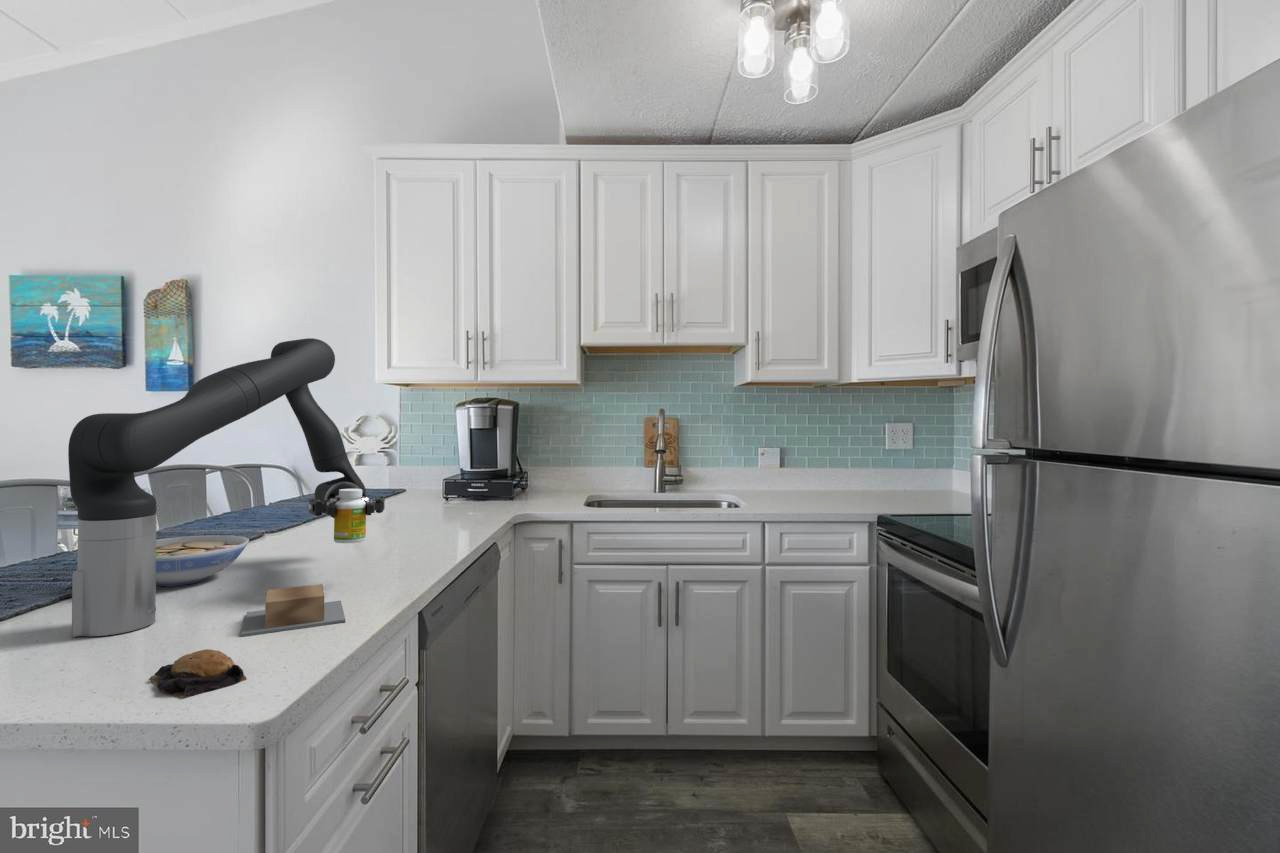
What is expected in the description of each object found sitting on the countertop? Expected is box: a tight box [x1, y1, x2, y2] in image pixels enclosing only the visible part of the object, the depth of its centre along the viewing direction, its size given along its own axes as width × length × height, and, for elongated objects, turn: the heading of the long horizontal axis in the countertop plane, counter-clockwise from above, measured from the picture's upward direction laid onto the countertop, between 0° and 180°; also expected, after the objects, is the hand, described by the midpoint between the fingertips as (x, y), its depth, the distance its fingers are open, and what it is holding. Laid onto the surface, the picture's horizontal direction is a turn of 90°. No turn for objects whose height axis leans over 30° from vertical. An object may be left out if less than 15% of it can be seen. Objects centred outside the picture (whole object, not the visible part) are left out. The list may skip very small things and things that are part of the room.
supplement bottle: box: [333, 489, 367, 544], centre depth 113 cm, size 5×5×10 cm
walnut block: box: [264, 583, 325, 629], centre depth 97 cm, size 8×8×4 cm
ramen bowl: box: [156, 534, 250, 587], centre depth 120 cm, size 25×23×8 cm
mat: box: [240, 600, 346, 637], centre depth 98 cm, size 14×12×1 cm
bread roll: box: [149, 649, 248, 700], centre depth 74 cm, size 11×8×4 cm
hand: (351, 510), depth 110 cm, fingers closed on supplement bottle, 5 cm apart
